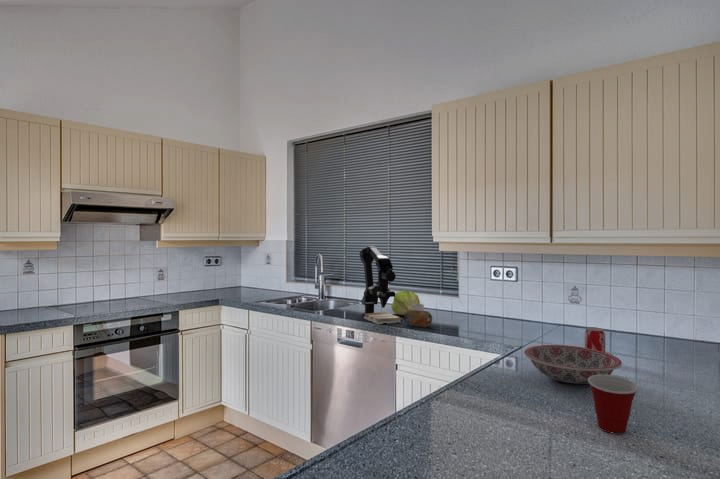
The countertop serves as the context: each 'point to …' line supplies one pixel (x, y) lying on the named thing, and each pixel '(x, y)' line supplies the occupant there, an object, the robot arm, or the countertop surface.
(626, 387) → the plastic cup
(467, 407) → the countertop surface
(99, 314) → the countertop surface
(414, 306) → the drinking glass
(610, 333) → the countertop surface
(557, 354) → the ceramic bowl
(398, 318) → the oak plank
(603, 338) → the soda can
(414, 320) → the brown rounded block
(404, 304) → the lettuce
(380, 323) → the underlay board
